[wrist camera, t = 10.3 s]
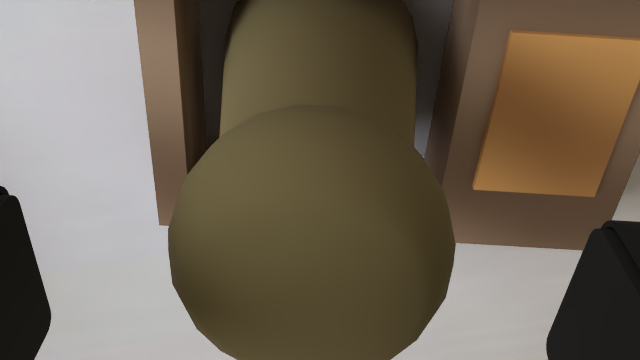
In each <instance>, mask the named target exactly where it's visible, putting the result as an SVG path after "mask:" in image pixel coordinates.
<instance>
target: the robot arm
mask: <svg viewBox="0 0 640 360" xmlns="http://www.w3.org/2000/svg"><path fill="white" fill-rule="evenodd" d="M50 322H51V311H50V306H49V303H48V300H47V296H46V293H45V289H44V286H43V282H42V279H41V275H40V272H39V268H38V265H37V261H36V258H35V255H34V251H33V248H32V244H31V241H30V237H29V234H28V230H27V227H26V223H25V220H24V216H23V213H22V209H21V206H20V203H19V200H18V199H17V198H16V196H13V195H9V193H8V191H7V190H6V189H5V188H4V187H2V186H0V360H34V359H35V357H36V355H37V353H38V351H39V349H40V347H41V345H42V343H43V341H44V339H45V337H46V335H47V333H48V330H49V327H50ZM546 350H547V356H548V360H640V222H632V221H614V220H610V221H606V222H605V223H604V224H603V225H602V227H601V228H597V229H594V230H593V231H592V232H591V234H590V236H589V238H588V240H587V243H586V245H585V248H584V250H583V252H582V255H581V257H580V260H579V262H578V264H577V267H576V269H575V272H574V274H573V277H572V279H571V281H570V284H569V286H568V289H567V291H566V293H565V296H564V298H563V301H562V303H561V305H560V308H559V310H558V313H557V315H556V317H555V320H554V322H553V325H552V327H551V330H550V332H549V334H548V337H547V343H546Z"/></svg>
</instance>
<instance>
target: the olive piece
mask: <svg viewBox="0 0 640 360" xmlns="http://www.w3.org/2000/svg"><path fill="white" fill-rule="evenodd" d="M417 55H418V44H417V39H416V34H415V29H414V23H413V18H412V16H411V14H410V12H409V11H408V9H407V7H406V5H405V4H404V2H403V0H240V1H239V2H238V3H237V5H236V6H235V7H234V10H233V14H232V17H231V20H230V24H229V27H228V30H227V34H226V41H225V57H224V73H223V89H222V105H221V121H220V137H219V139H217V140H216V141H215V142H214V143H213V144H212V145H211V146H210V148H209V149H208V150H207V151H206V152H205V154H204V155H203V156H202V157H201V159H200V160H199V161H198V162H197V163H196V165H195V166H194V167H193V168H192V170H191V171H190V172H189V173H188V174H187V176H186V178H185V180H184V183H183V185H182V188H181V190H180V193H179V195H178V199H177V202H176V205H175V208H174V212H173V215H172V218H171V222H170V225H169V228H168V251H169V259H170V267H171V276H172V284H173V286H174V288H175V289H176V291H177V293H178V295H179V297H180V299H181V301H182V303H183V304H184V306H185V308H186V310H187V312H188V313H189V315H190V317H191V319H192V321H193V323H194V324H195V326H196V328H197V329H198V330H199V331H200V332H201V333H202V334H203V335H204V336H205V337H206V338H207V339H209V340H210V341H211V342H212V343H213V344H214V345H215V346H216V347H217V348H218V349H219V350H220V351H222V352H224V353H226V354H228V355H230V356H231V357H233V358H235V359H237V360H391V359H392V358H393V357H395V356H396V355H397V354H399V353H400V352H401V351H403V350H404V349H405V348H407V347H408V346H409V345H411V344H412V343H413V342H415V341H416V340H417V339H418V337H419V336H420V335H421V333H422V332H423V330H424V329H425V327H426V326H427V325H428V323H429V322H430V320H431V319H432V317H433V316H434V314H435V313H436V311H437V310H438V308H439V307H440V305H441V304H442V302H443V301H444V299H445V298H446V294H447V290H448V285H449V281H450V277H451V272H452V268H453V262H454V254H455V245H456V244H455V238H454V233H453V228H452V222H451V217H450V212H449V207H448V204H447V200H446V197H445V194H444V190H443V188H442V187H441V185H440V184H439V182H438V181H437V179H436V177H435V176H434V174H433V173H432V171H431V170H430V168H429V167H428V165H427V164H426V162H425V161H424V159H423V158H422V156H421V155H420V154H419V153H418V151H417V150H416V149H415V148H414V135H415V108H416V82H417Z"/></svg>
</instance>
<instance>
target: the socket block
mask: <svg viewBox="0 0 640 360" xmlns="http://www.w3.org/2000/svg"><path fill="white" fill-rule="evenodd" d="M134 7H135V16H136V25H137V34H138V42H139V51H140V60H141V69H142V77H143V86H144V95H145V103H146V112H147V121H148V130H149V138H150V147H151V156H152V165H153V173H154V182H155V191H156V200H157V208H158V217H159V225H165V226H169V225H170V222H171V218H172V215H173V212H174V208H175V205H176V202H177V199H178V195H179V193H180V190H181V188H182V185H183V183H184V180H185V178H186V176H187V174H188V173H189V172H190V171H191V170H192V168H193V167H194V166H195V165H196V163H197V162H198V161H199V160H200V159H201V157H202V156H203V155H204V154H205V152H206V151H207V149H206V131H205V112H204V94H203V75H202V57H201V38H200V20H199V1H198V0H134ZM639 153H640V0H454V2H453V7H452V13H451V18H450V23H449V29H448V34H447V40H446V45H445V51H444V56H443V62H442V67H441V72H440V78H439V83H438V89H437V94H436V100H435V105H434V110H433V116H432V121H431V127H430V132H429V138H428V143H427V149H426V154H425V159H424V161H425V162H426V164H427V165H428V167H429V168H430V170H431V171H432V173H433V174H434V176H435V177H436V179H437V181H438V182H439V184H440V185H441V187H442V188H443V190H444V194H445V197H446V200H447V204H448V207H449V212H450V217H451V222H452V228H453V233H454V238H455V243H469V244H486V245H503V246H519V247H536V248H553V249H570V250H584V248H585V245H586V243H587V240H588V238H589V236H590V234H591V232H592V231H593V230H594V229H597V228H601V227H602V225H603V224H604V223H605V222H606V221H610V220H612V218H613V215H614V213H615V210H616V208H617V206H618V203H619V201H620V198H621V196H622V194H623V191H624V189H625V186H626V184H627V182H628V179H629V177H630V174H631V172H632V170H633V167H634V165H635V162H636V160H637V158H638V155H639Z"/></svg>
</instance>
